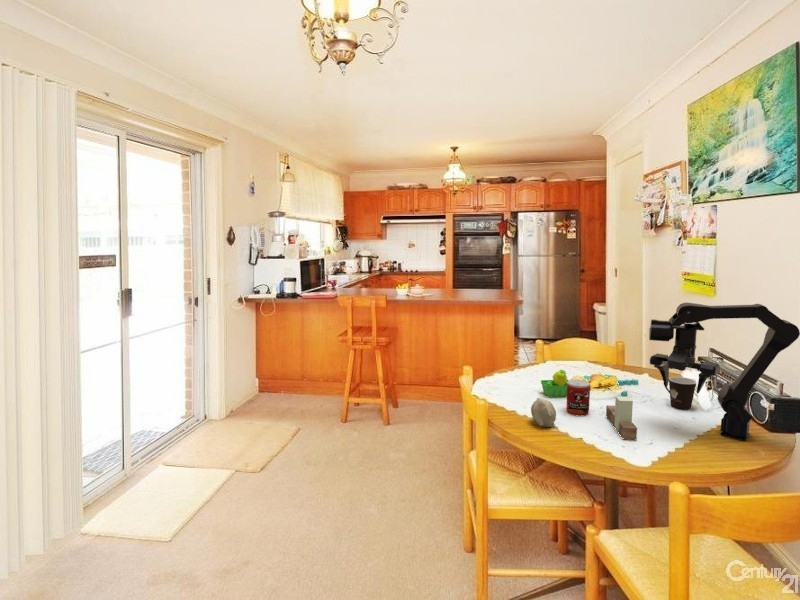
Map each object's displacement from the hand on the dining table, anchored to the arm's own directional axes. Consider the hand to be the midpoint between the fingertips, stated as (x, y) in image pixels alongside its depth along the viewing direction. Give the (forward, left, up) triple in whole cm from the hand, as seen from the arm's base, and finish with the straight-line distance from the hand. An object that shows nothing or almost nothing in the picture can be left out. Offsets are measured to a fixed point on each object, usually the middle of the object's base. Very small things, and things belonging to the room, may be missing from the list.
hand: (681, 389), depth 154 cm
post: (+12, +15, -12) cm, 23 cm away
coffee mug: (+7, -22, -13) cm, 27 cm away
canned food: (+30, +10, -13) cm, 34 cm away
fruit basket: (+44, -1, -13) cm, 46 cm away
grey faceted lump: (+33, +28, -13) cm, 45 cm away
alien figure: (+36, -26, -14) cm, 46 cm away
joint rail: (+14, +13, -13) cm, 23 cm away
